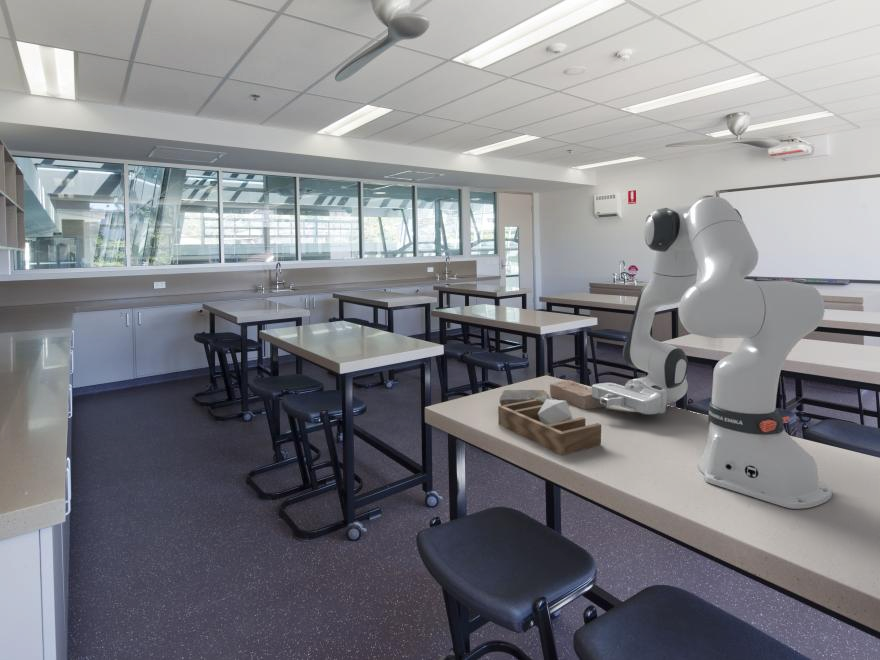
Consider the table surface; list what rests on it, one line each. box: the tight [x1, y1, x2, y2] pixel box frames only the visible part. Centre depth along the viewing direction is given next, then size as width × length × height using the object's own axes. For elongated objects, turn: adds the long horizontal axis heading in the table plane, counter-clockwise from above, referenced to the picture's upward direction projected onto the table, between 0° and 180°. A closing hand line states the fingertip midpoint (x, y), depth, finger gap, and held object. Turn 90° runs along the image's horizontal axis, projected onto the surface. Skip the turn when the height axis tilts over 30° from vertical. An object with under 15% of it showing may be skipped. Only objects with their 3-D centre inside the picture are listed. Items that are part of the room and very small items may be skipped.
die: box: [538, 398, 573, 425], centre depth 132 cm, size 8×9×10 cm
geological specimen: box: [499, 389, 551, 406], centre depth 149 cm, size 11×6×15 cm
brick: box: [549, 379, 605, 410], centre depth 158 cm, size 17×8×5 cm, turn 26°
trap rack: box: [497, 399, 602, 456], centre depth 130 cm, size 25×12×5 cm, turn 28°
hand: (603, 401), depth 139 cm, fingers closed
